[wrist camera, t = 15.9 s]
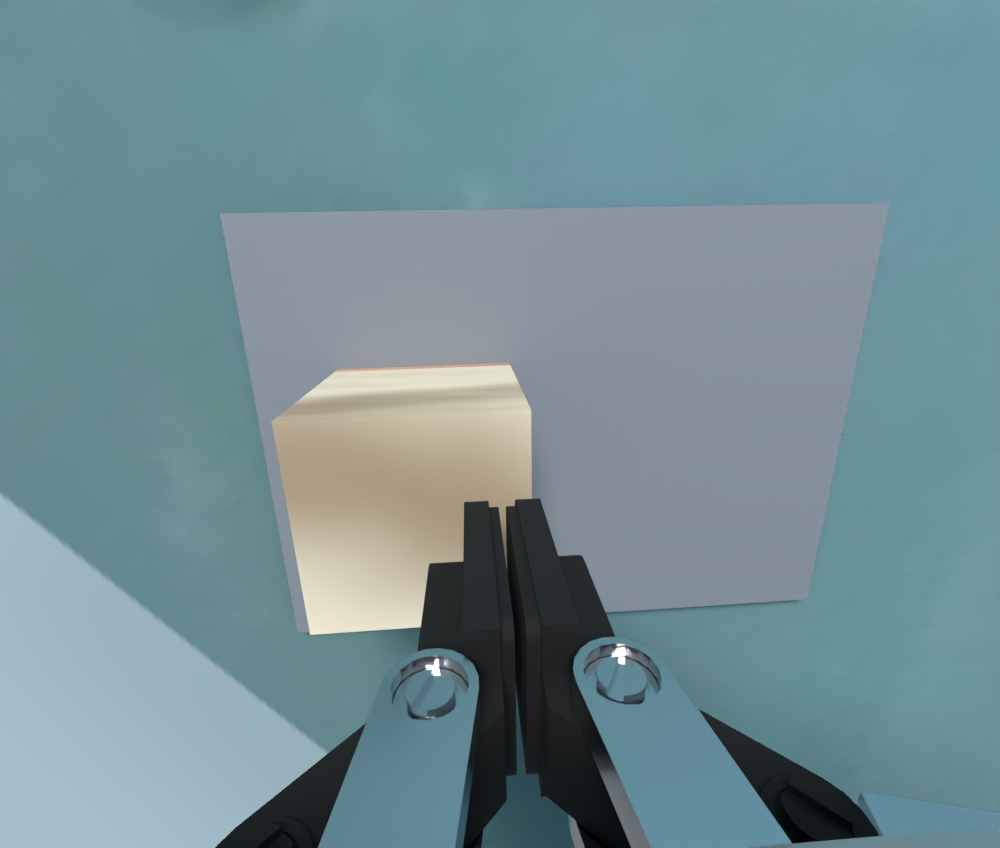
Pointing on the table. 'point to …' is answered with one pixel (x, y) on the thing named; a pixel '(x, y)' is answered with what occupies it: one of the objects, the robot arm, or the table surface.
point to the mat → (599, 365)
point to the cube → (395, 482)
